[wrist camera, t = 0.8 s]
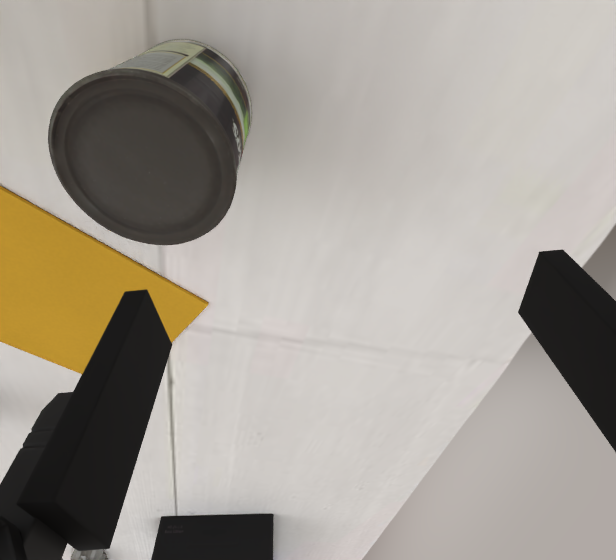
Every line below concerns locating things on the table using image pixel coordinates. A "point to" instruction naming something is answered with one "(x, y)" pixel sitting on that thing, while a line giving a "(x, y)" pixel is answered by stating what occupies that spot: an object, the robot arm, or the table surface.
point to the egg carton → (89, 555)
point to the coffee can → (154, 142)
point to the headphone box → (215, 538)
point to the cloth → (70, 286)
